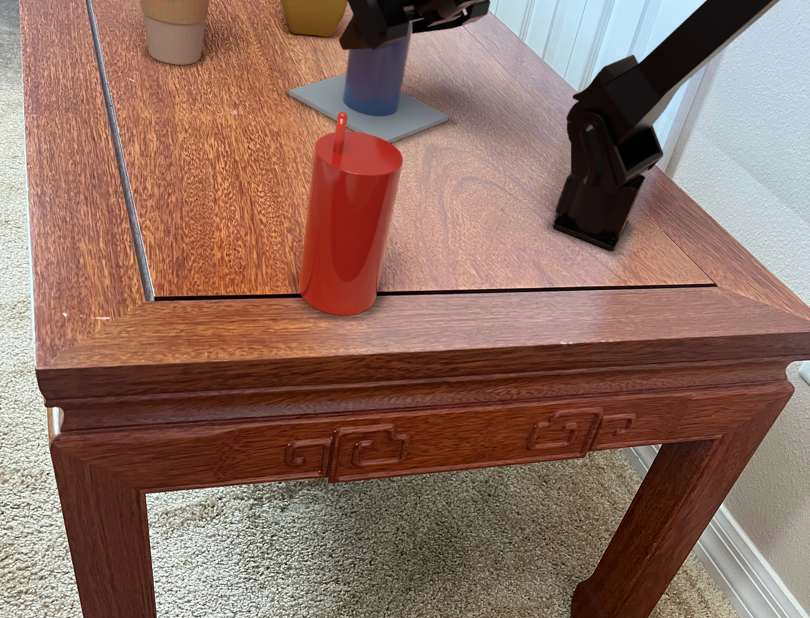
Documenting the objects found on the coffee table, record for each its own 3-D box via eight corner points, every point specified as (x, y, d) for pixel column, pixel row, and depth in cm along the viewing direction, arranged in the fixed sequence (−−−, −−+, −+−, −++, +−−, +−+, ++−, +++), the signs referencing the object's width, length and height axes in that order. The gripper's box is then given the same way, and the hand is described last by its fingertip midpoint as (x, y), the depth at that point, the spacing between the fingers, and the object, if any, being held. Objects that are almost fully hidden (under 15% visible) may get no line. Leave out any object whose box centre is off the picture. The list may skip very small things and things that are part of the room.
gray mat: (447, 120, 95) (448, 115, 95) (382, 146, 87) (382, 141, 87) (358, 74, 101) (358, 69, 100) (288, 94, 93) (289, 89, 92)
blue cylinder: (409, 108, 94) (436, -34, 84) (373, 121, 90) (398, -27, 80) (367, 86, 97) (389, -55, 87) (330, 98, 93) (349, -49, 82)
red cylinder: (366, 268, 70) (398, 96, 60) (384, 314, 66) (420, 137, 56) (292, 267, 68) (312, 90, 58) (305, 316, 64) (328, 133, 54)
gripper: (494, -125, 83) (392, -45, 94) (375, -117, 70) (275, -25, 82) (536, -16, 85) (432, 50, 96) (428, 10, 73) (323, 82, 84)
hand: (369, 37), depth 90 cm, fingers open, 9 cm apart
